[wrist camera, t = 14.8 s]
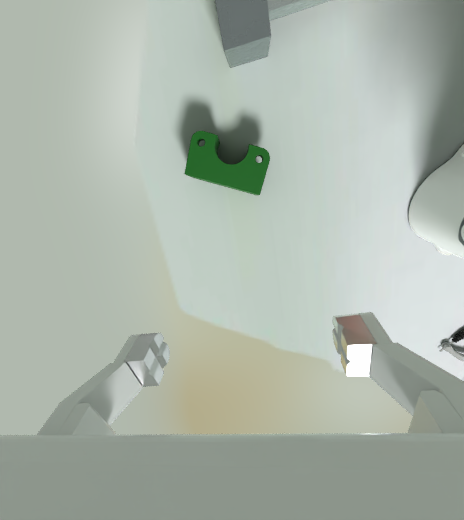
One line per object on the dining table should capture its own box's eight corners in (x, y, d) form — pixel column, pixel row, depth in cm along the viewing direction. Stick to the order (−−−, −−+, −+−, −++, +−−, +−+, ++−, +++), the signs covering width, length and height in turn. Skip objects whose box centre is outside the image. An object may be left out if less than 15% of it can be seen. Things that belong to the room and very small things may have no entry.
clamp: (254, 158, 39) (282, 155, 31) (244, 192, 41) (269, 197, 33) (187, 133, 34) (201, 122, 26) (179, 173, 36) (190, 174, 28)
